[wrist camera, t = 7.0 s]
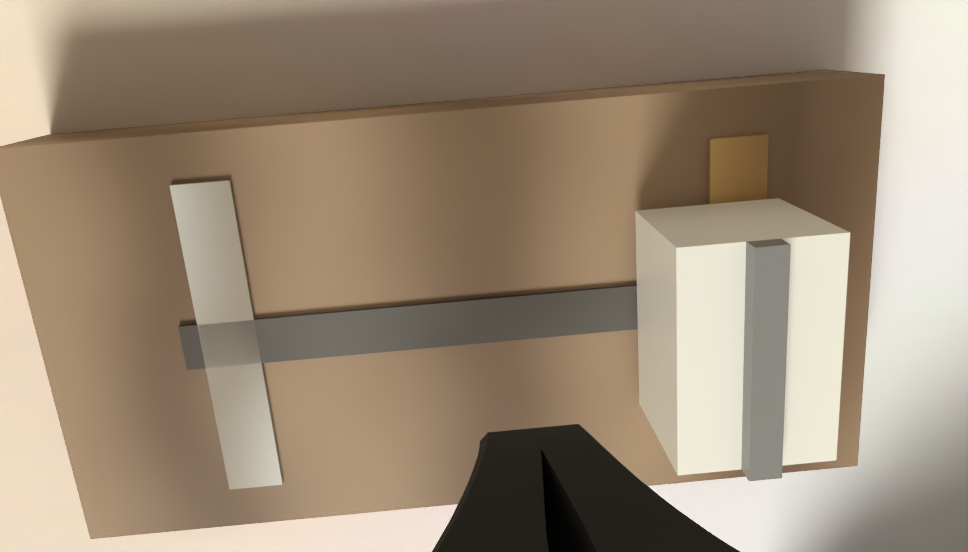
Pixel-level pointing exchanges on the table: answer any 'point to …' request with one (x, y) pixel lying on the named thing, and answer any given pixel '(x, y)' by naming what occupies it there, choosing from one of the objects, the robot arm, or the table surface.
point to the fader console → (394, 284)
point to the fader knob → (741, 334)
